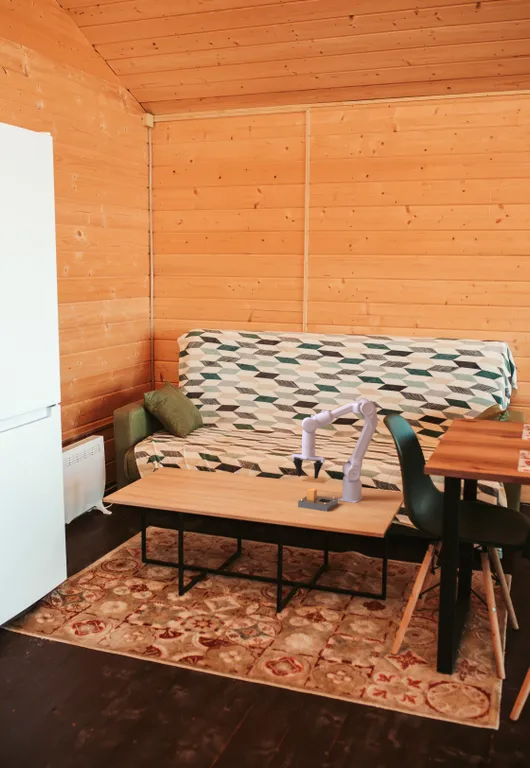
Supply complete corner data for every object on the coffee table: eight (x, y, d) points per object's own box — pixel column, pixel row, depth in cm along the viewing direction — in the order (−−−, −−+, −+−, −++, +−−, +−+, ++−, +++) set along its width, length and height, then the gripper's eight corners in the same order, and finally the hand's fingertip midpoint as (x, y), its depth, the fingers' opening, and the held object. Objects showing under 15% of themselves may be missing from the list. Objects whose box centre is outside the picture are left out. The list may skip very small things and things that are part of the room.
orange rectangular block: (309, 503, 327) (309, 488, 326) (316, 504, 325) (316, 489, 325) (306, 505, 324) (306, 489, 323) (313, 506, 322) (313, 490, 322)
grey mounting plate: (309, 500, 331) (309, 493, 331) (337, 504, 326) (338, 497, 325) (298, 506, 321) (298, 499, 320) (327, 511, 315) (327, 504, 315)
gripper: (289, 445, 329) (288, 477, 330) (320, 449, 322) (320, 481, 324) (296, 442, 335) (295, 473, 337) (327, 446, 329) (326, 477, 330)
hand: (307, 477), depth 331 cm, fingers open, 7 cm apart
